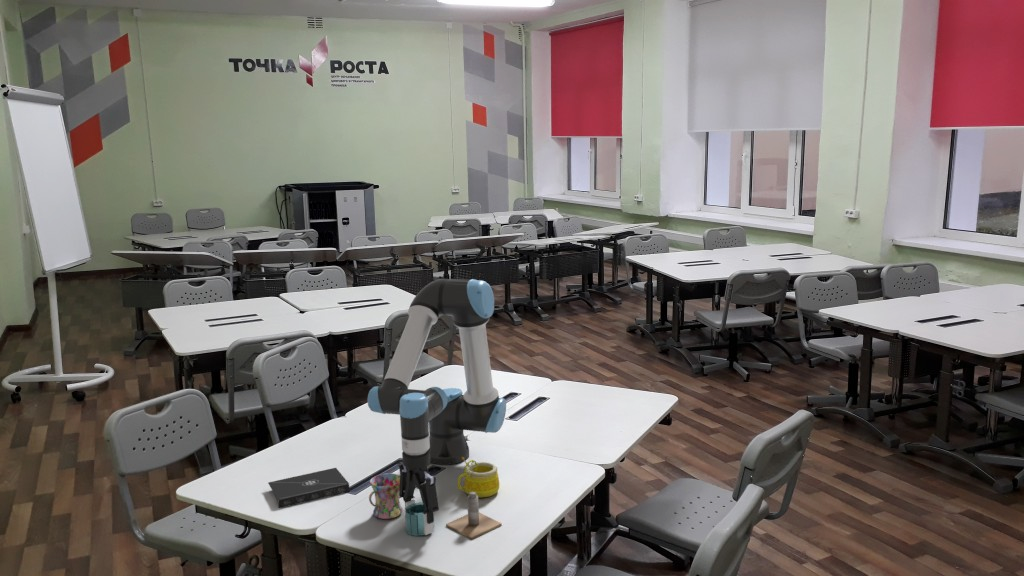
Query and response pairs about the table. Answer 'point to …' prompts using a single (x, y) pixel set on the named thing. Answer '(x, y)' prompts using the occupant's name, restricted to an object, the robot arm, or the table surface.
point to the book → (309, 487)
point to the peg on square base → (473, 520)
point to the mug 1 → (386, 495)
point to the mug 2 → (480, 479)
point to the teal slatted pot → (415, 519)
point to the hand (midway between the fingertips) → (419, 527)
